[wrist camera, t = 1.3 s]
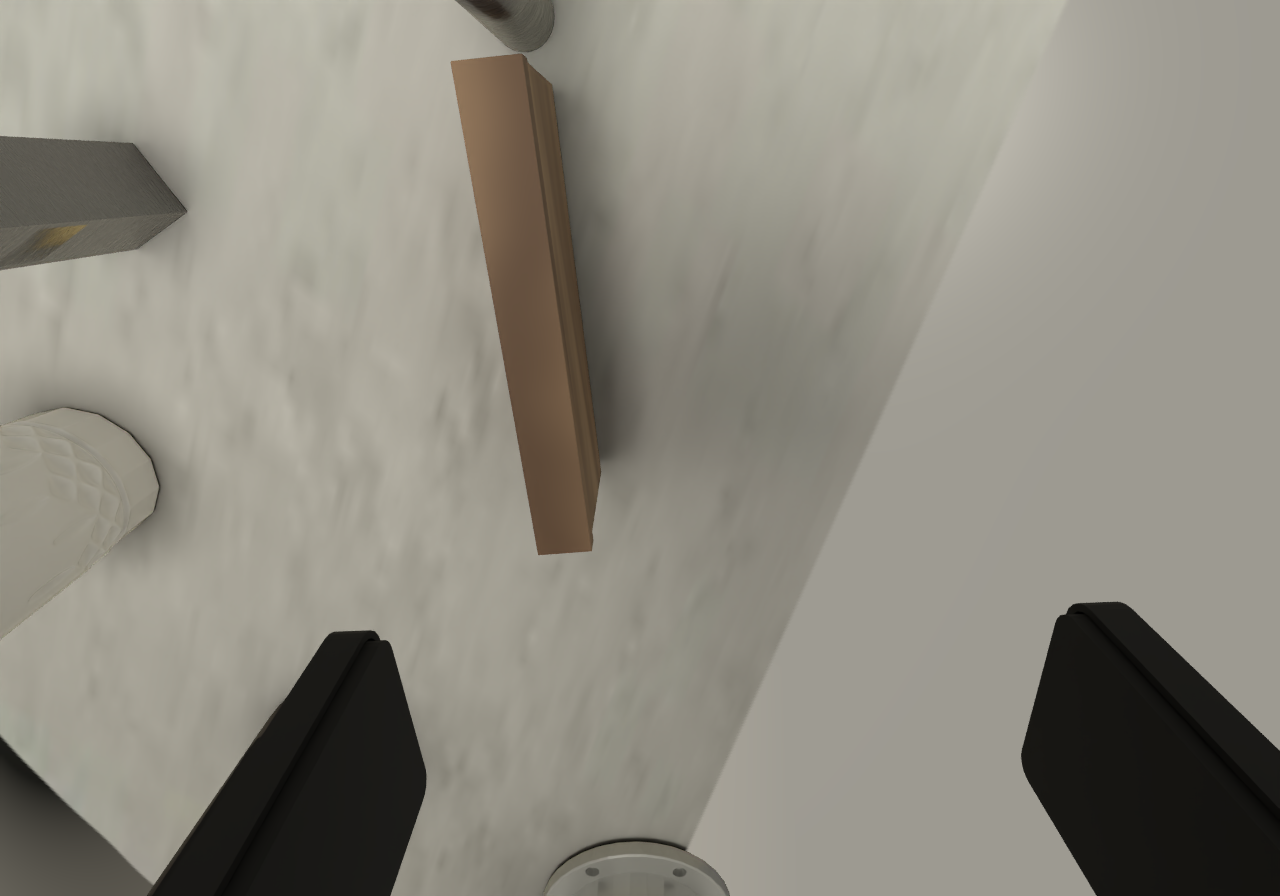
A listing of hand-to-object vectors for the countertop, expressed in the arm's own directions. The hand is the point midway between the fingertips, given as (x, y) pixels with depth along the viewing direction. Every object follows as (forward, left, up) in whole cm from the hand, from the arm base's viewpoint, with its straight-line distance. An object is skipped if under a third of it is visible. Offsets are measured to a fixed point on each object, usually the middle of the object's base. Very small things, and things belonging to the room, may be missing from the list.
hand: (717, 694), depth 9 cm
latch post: (+16, +16, -22) cm, 32 cm away
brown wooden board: (+4, +3, -21) cm, 21 cm away
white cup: (+9, +28, -22) cm, 36 cm away
